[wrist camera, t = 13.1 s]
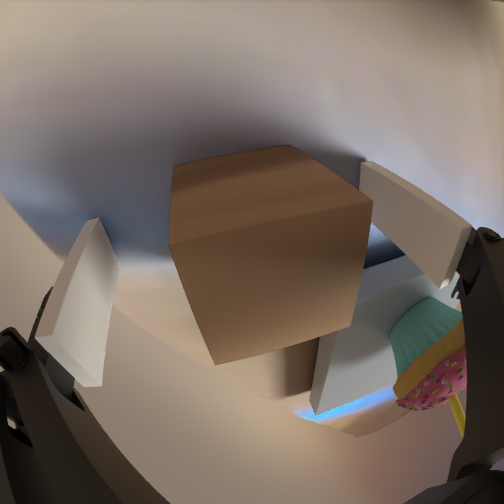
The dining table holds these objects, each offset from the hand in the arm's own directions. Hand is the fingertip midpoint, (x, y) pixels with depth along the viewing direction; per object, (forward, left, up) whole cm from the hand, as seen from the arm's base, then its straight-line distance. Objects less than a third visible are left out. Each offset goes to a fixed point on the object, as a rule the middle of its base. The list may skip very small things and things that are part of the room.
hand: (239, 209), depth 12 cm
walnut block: (0, 0, 0) cm, 0 cm away
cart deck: (+14, +11, 0) cm, 18 cm away
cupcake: (+10, +11, +3) cm, 15 cm away
